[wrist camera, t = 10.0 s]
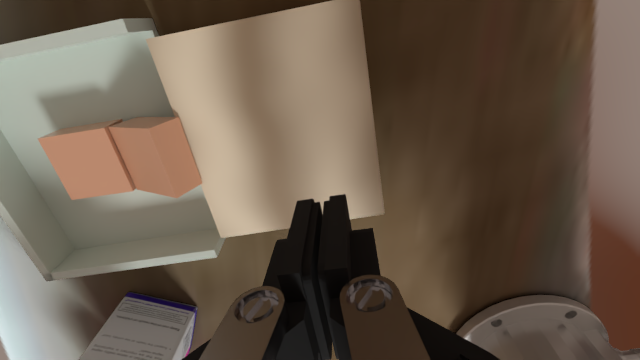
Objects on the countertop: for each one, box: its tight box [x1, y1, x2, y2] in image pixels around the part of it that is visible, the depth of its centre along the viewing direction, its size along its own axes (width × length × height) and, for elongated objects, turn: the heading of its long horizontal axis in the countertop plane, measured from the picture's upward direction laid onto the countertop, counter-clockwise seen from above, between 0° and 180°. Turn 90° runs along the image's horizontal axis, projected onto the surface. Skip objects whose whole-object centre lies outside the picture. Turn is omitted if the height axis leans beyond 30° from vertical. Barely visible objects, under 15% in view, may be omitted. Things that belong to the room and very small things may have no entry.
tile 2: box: [38, 119, 136, 200], centre depth 20 cm, size 4×4×2 cm
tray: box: [0, 18, 226, 281], centre depth 20 cm, size 12×14×3 cm
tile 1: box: [108, 117, 202, 198], centre depth 19 cm, size 4×4×2 cm
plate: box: [146, 0, 385, 238], centre depth 20 cm, size 10×12×2 cm
